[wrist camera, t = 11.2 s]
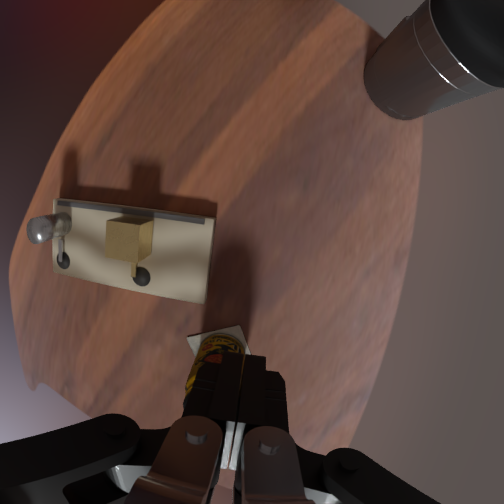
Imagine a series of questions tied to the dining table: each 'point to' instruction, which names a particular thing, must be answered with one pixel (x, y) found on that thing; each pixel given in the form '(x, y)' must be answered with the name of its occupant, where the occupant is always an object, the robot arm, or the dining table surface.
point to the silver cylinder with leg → (49, 229)
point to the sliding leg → (128, 240)
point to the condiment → (214, 350)
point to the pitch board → (149, 269)
